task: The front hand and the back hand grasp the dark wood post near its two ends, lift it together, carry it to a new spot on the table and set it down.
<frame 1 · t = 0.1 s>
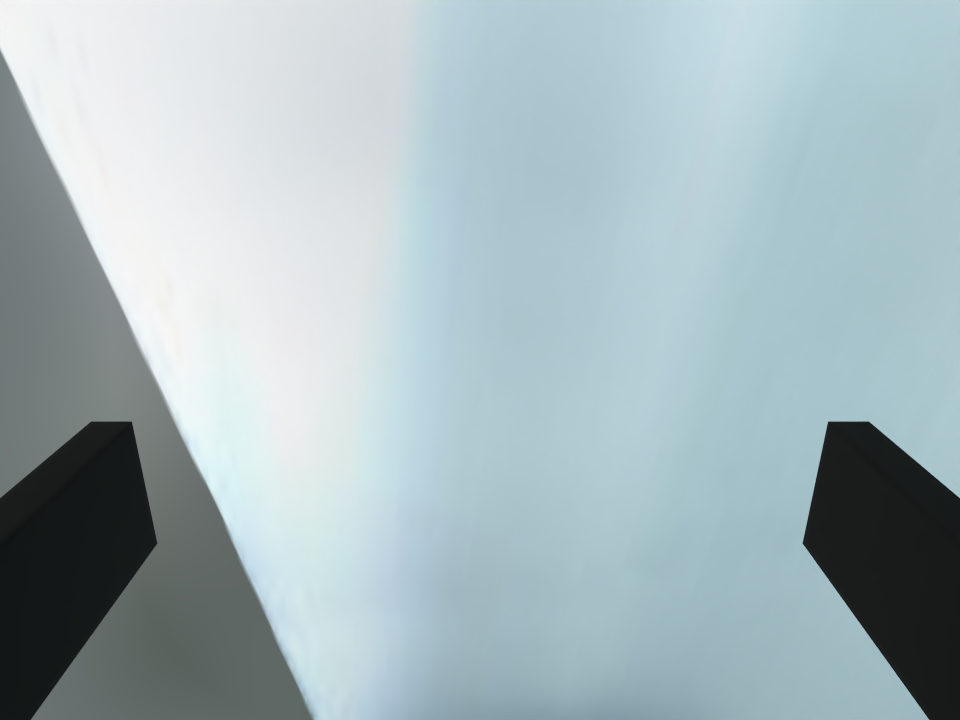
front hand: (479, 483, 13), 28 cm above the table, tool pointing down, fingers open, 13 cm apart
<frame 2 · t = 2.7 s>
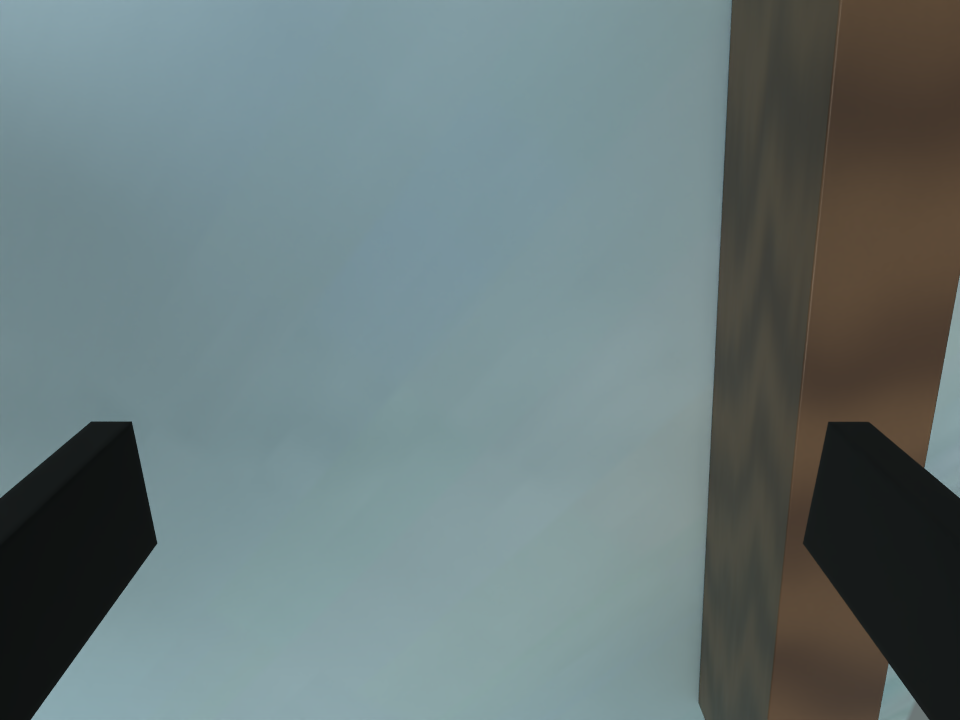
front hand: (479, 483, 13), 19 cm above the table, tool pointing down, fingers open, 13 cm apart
post: (784, 113, 29), on the table, touching back hand
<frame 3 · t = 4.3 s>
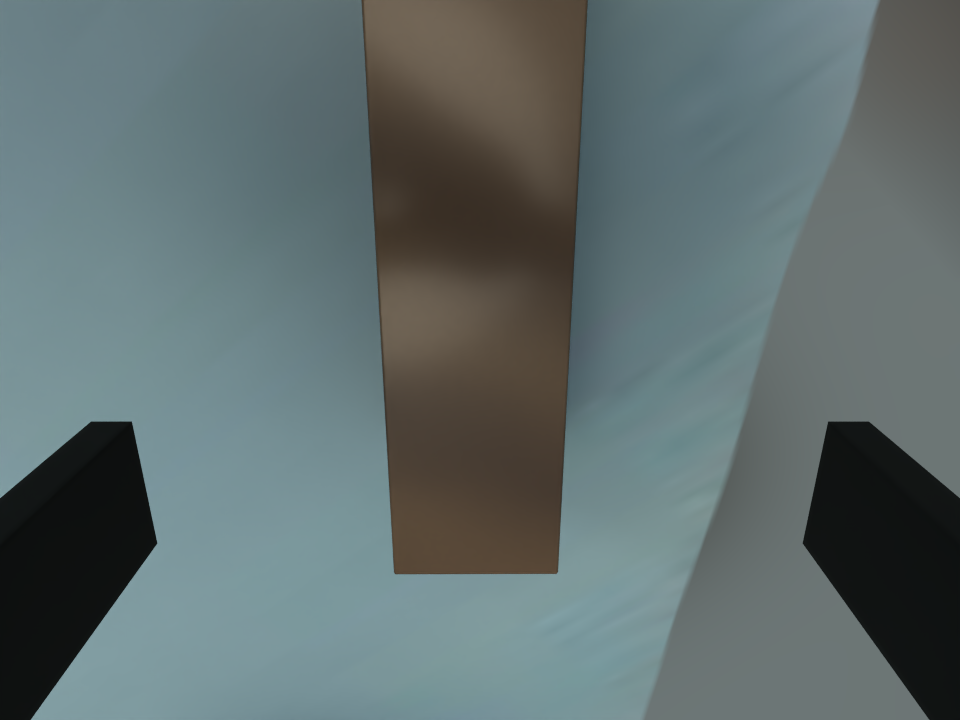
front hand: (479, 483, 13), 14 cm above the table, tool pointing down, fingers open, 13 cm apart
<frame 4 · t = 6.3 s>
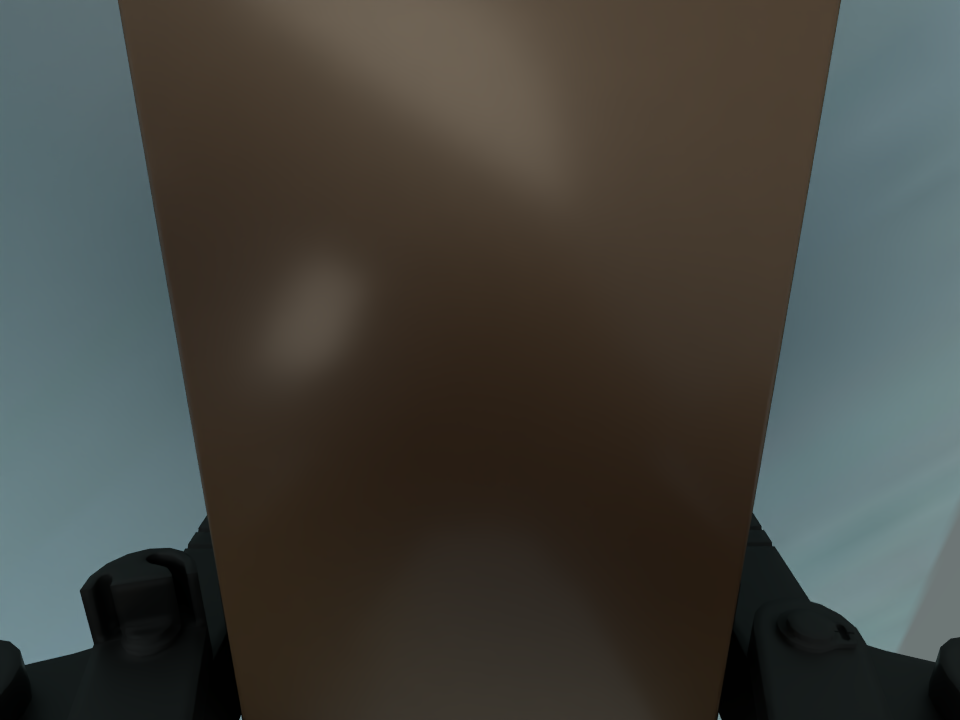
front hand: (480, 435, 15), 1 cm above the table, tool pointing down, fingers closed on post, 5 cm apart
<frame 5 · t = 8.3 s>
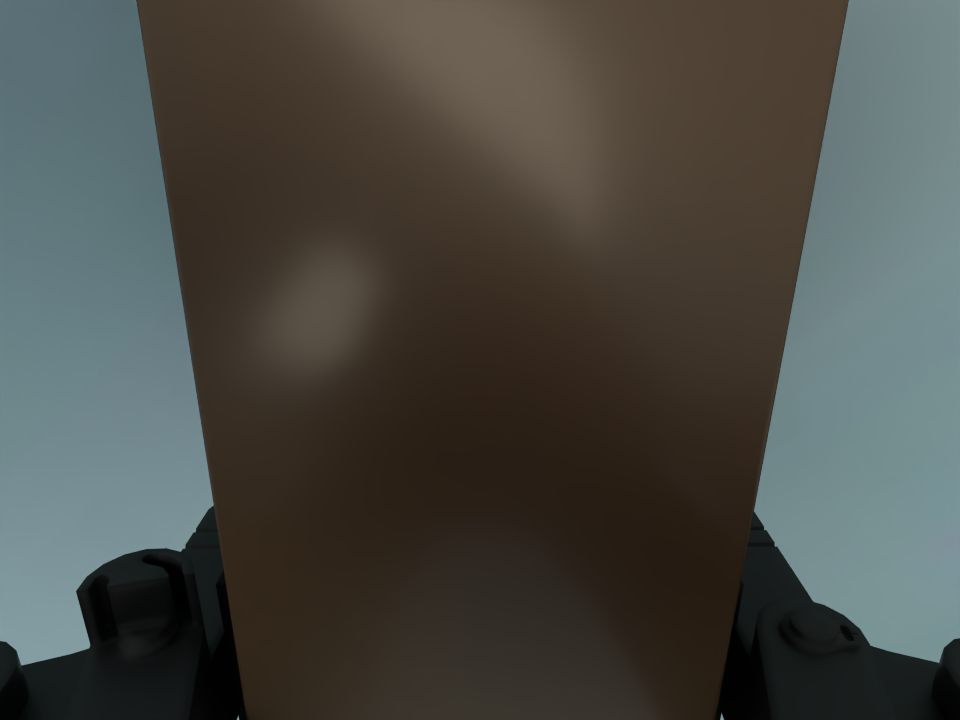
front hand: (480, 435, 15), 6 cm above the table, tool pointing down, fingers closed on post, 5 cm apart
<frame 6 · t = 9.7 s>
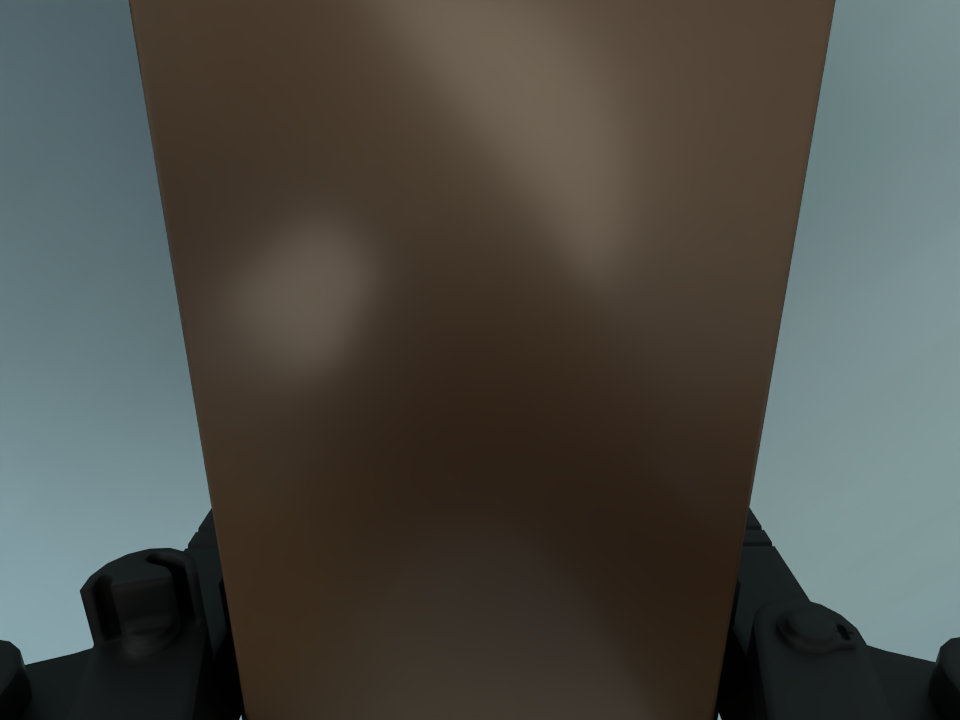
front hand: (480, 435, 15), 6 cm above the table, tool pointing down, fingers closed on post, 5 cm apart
when the front hand's fingers open (2 cm above the table, at t = 10.5 s): post drops 1 cm, on the table.
when the back hand's fingers open (5 cm above the table, at t = 10.7 s): post stays where it is, on the table.
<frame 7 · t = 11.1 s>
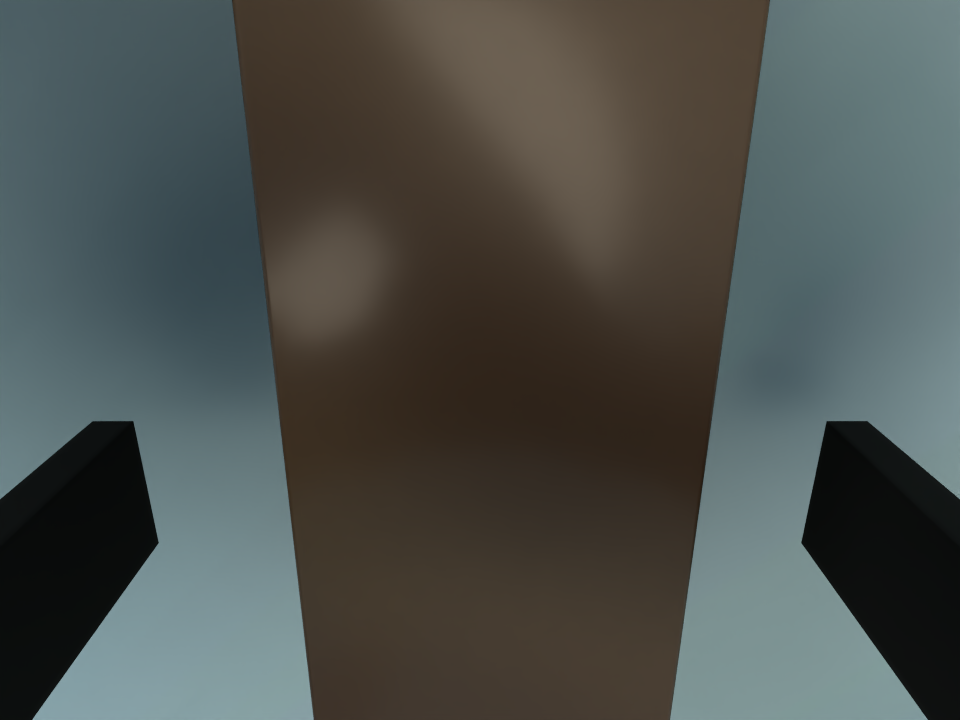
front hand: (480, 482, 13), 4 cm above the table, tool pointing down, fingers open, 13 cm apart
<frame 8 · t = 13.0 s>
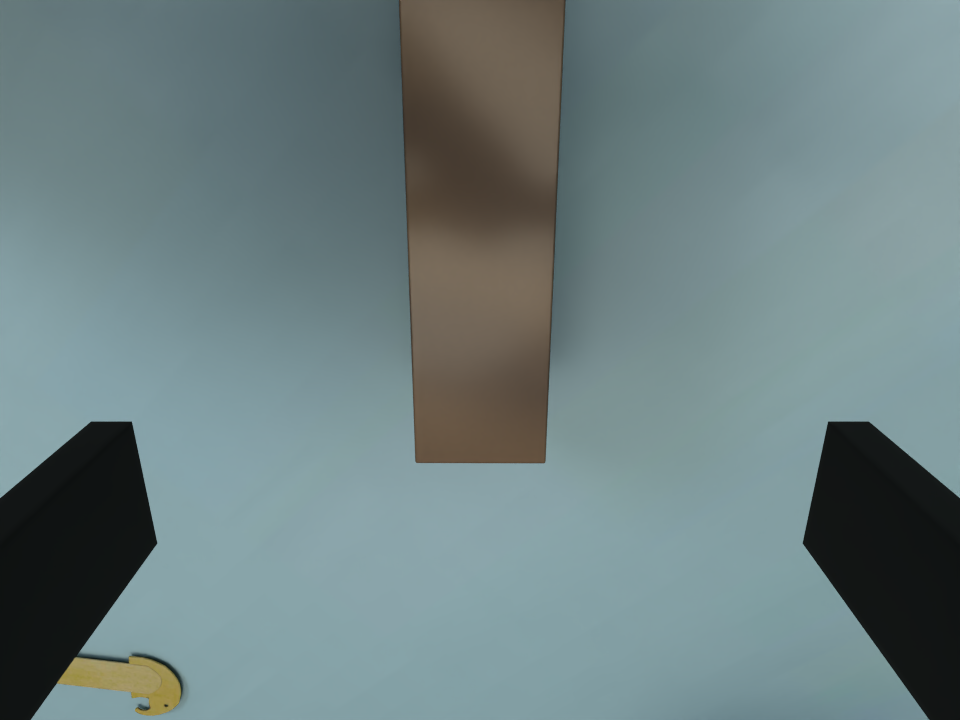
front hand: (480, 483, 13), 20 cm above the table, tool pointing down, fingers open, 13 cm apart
bottle opener: (14, 668, 41), on the table
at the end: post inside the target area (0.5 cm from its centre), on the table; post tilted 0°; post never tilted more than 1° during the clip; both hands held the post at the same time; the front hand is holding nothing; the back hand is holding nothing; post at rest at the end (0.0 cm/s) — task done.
